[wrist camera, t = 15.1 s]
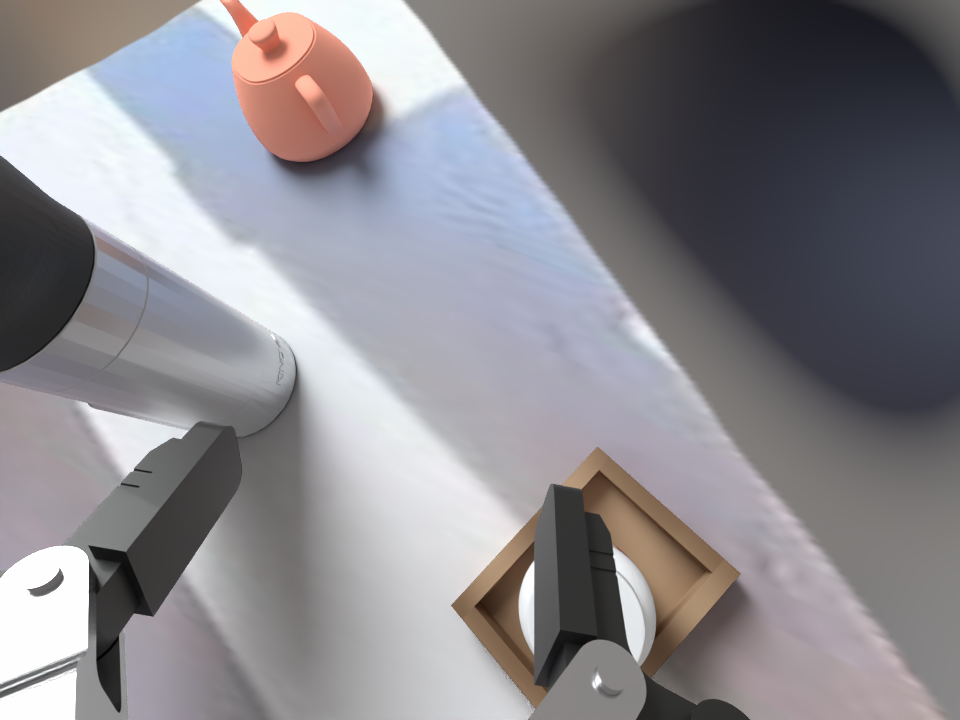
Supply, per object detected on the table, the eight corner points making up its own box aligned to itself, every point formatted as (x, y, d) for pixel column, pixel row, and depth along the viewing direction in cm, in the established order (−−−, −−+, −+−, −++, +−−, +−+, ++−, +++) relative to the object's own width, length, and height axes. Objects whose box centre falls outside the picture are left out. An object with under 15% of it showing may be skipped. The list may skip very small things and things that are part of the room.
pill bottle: (618, 521, 30) (630, 519, 20) (659, 630, 28) (697, 690, 18) (523, 551, 31) (488, 563, 21) (555, 659, 29) (534, 734, 18)
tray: (580, 742, 28) (578, 761, 25) (461, 599, 31) (451, 605, 29) (729, 569, 29) (740, 573, 26) (597, 452, 32) (597, 446, 30)
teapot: (310, 205, 45) (241, 127, 36) (233, 105, 52) (159, 19, 43) (412, 125, 45) (369, 28, 37) (322, 36, 52) (268, -63, 43)
